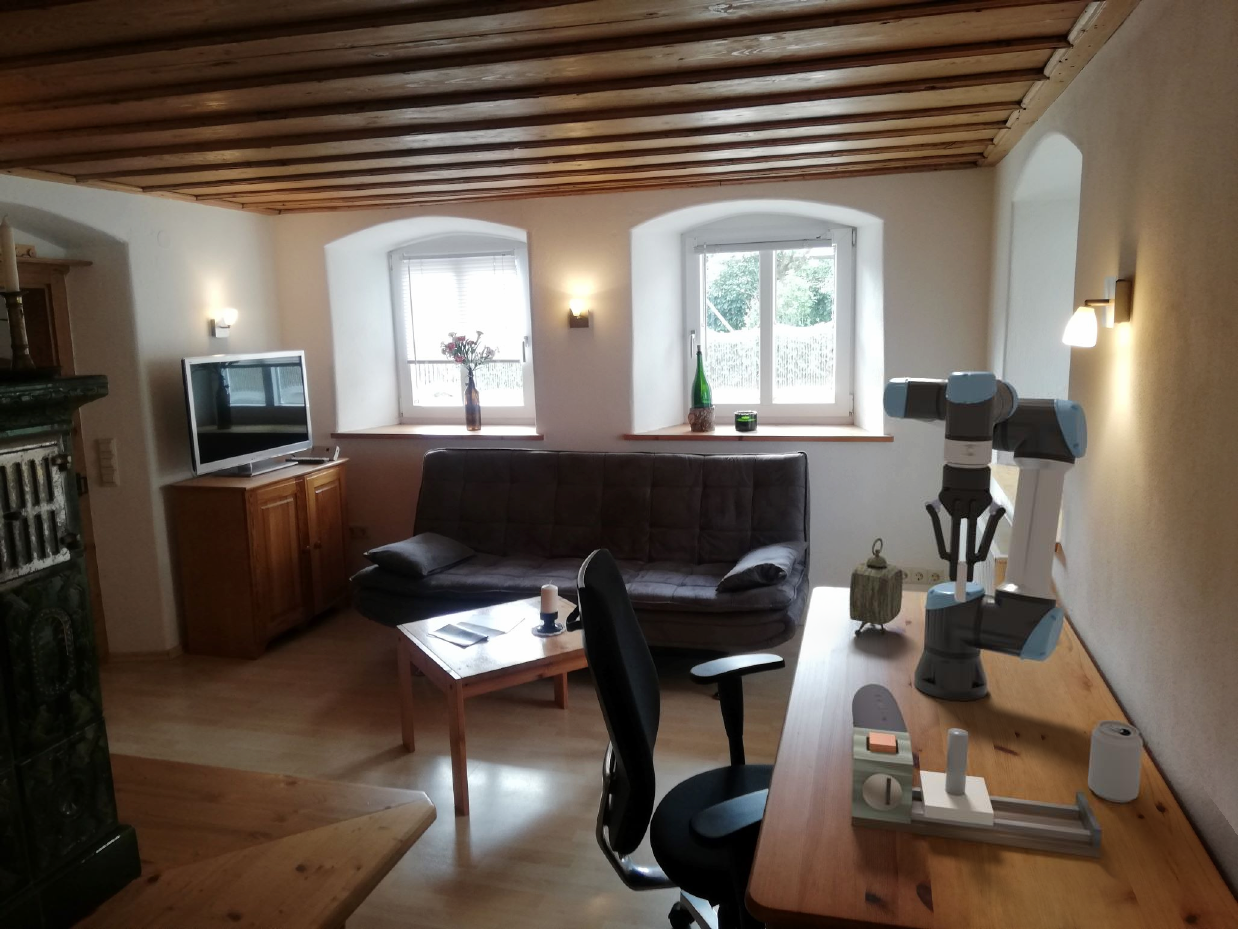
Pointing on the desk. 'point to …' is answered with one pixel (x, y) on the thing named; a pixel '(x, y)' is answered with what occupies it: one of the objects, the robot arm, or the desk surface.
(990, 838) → the rail bed
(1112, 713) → the desk surface
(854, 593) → the tabletop clock
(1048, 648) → the robot arm
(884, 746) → the button
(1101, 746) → the can
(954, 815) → the carriage
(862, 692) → the bluetooth speaker
